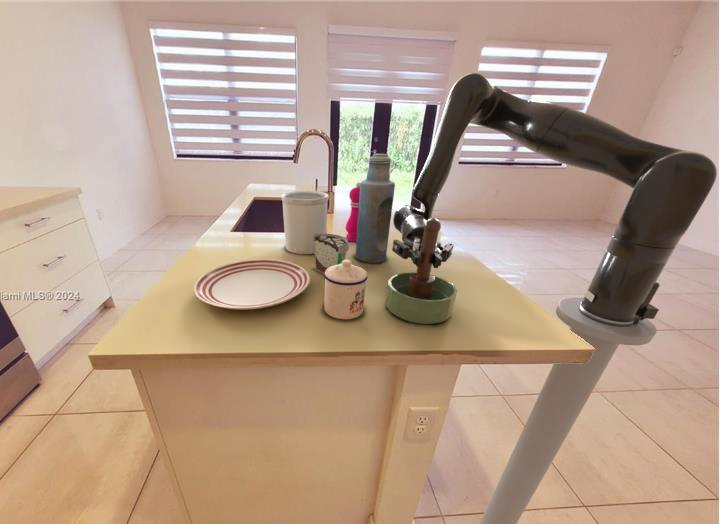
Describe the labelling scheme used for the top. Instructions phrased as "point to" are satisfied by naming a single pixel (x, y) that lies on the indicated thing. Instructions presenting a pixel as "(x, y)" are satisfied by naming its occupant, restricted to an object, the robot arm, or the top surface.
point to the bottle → (375, 210)
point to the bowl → (420, 300)
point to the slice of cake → (329, 250)
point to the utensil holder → (304, 219)
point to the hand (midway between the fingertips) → (428, 262)
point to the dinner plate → (251, 284)
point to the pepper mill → (353, 214)
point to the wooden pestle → (425, 263)
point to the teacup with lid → (344, 290)
